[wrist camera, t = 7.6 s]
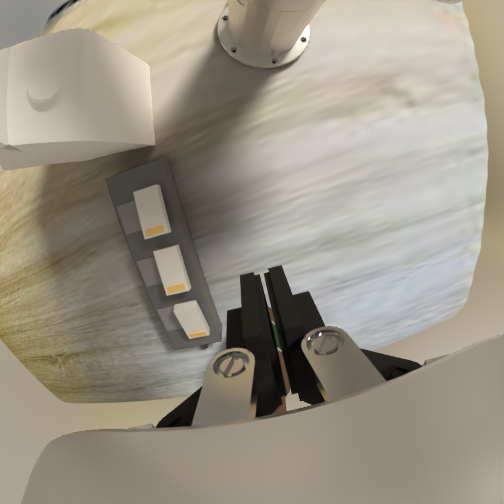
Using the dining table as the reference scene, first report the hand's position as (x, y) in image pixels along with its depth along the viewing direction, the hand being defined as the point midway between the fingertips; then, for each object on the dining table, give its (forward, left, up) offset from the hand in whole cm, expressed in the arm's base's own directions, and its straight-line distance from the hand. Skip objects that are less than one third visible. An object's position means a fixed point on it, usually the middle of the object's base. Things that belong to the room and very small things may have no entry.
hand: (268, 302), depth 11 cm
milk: (-16, -15, -29) cm, 37 cm away
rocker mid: (+7, -12, -24) cm, 27 cm away
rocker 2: (+15, -12, -24) cm, 30 cm away
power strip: (+8, -13, -29) cm, 33 cm away
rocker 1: (-1, -12, -24) cm, 27 cm away
